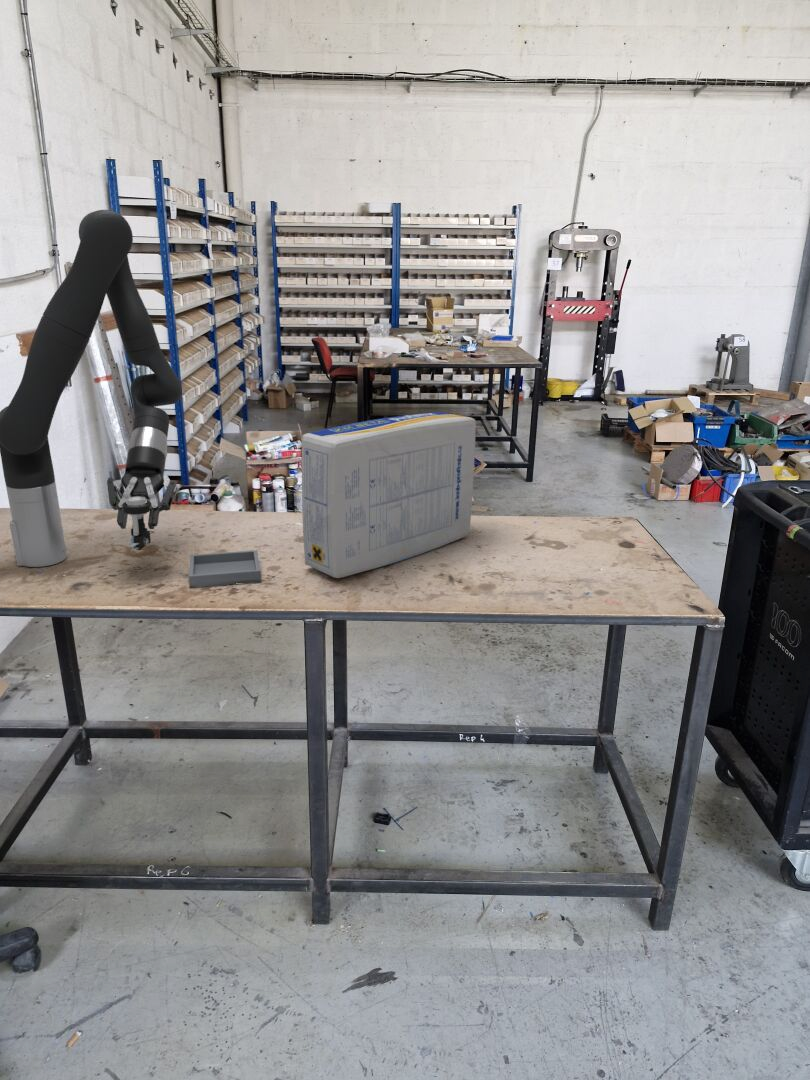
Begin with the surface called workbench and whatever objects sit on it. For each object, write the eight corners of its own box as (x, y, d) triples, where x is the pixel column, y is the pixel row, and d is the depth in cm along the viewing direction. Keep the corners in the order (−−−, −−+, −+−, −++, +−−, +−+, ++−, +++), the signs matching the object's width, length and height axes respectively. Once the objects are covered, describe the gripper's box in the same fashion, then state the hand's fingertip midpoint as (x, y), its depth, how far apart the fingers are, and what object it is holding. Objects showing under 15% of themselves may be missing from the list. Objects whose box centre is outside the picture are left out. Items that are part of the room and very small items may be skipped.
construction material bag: (437, 526, 180) (442, 407, 169) (472, 538, 172) (479, 414, 162) (301, 569, 151) (296, 430, 141) (335, 586, 144) (332, 439, 133)
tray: (189, 588, 141) (188, 576, 140) (191, 565, 152) (190, 554, 151) (261, 582, 145) (260, 570, 144) (257, 560, 156) (257, 550, 155)
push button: (146, 553, 140) (141, 505, 137) (119, 552, 140) (114, 504, 137) (158, 542, 146) (154, 495, 143) (132, 541, 146) (128, 494, 143)
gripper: (106, 443, 144) (93, 518, 137) (178, 445, 145) (169, 519, 138) (116, 462, 151) (104, 535, 144) (185, 464, 152) (177, 535, 145)
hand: (136, 527), depth 141 cm, fingers closed on push button, 5 cm apart
